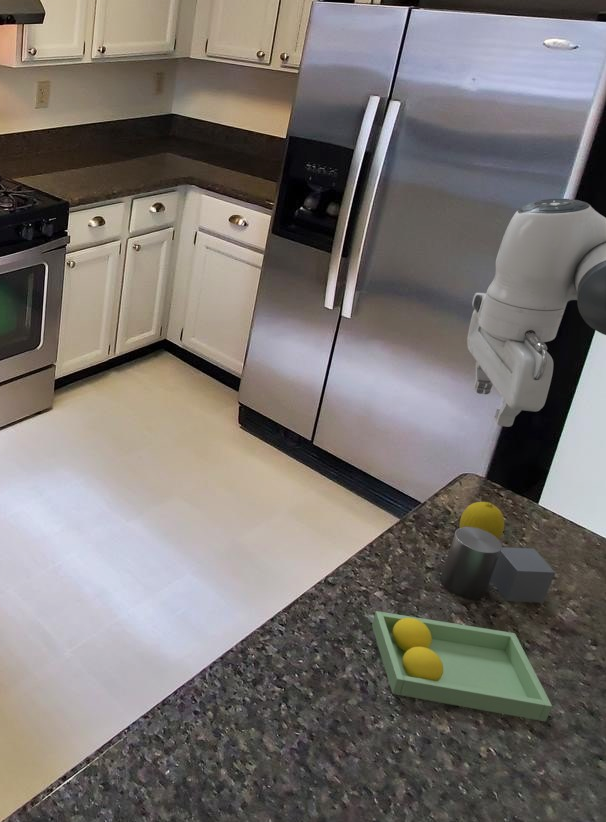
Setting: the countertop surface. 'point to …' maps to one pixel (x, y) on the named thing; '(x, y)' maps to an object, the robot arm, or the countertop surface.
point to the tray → (467, 669)
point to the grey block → (522, 575)
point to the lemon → (483, 518)
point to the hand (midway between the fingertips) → (491, 407)
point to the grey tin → (470, 563)
